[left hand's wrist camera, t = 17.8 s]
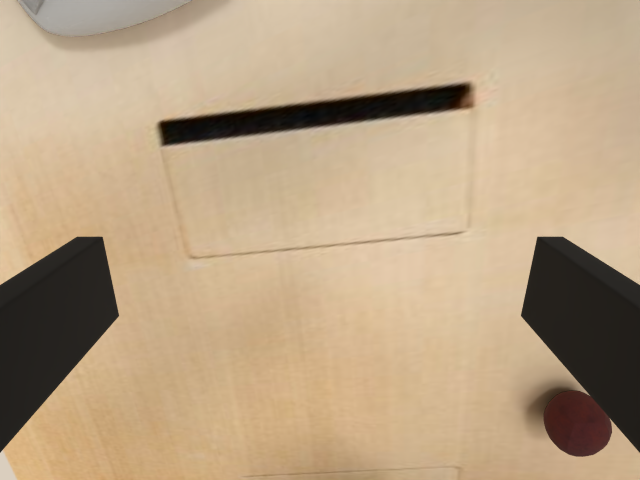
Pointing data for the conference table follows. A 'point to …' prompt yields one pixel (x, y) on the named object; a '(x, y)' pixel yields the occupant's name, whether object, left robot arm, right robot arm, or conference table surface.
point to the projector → (94, 14)
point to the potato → (577, 424)
